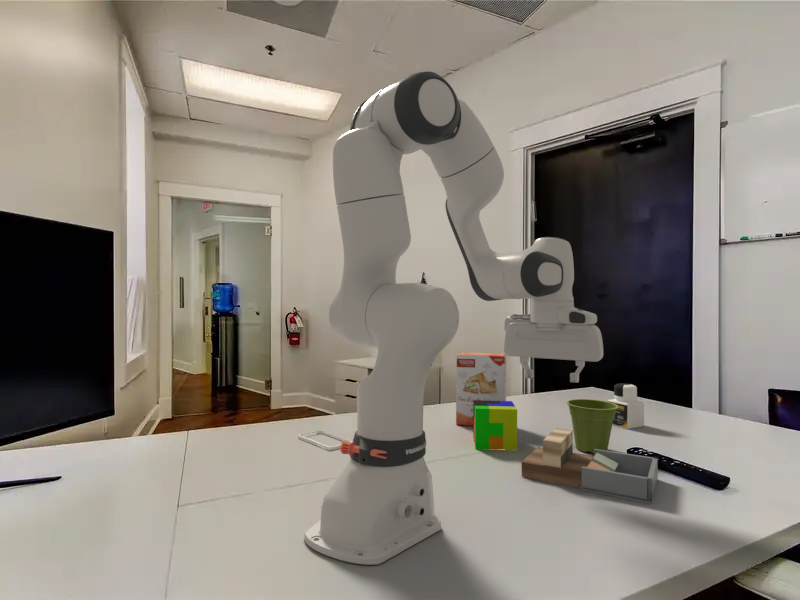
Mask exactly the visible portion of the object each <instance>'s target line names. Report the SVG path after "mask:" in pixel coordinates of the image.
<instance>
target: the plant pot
mask: <svg viewBox="0 0 800 600" xmlns="http://www.w3.org/2000/svg"><path fill="white" fill-rule="evenodd" d="M566 404H567V405H568V409H569V414H570V416H571V417H570V418H571V424H572V429H573V438H574V444H575V449H577V450H579V451H580V452H583V453H584V452H585V453H588V452H590V453H591V454H594V449H600V450H607V451H608V450H609V443H610V439H611V433H612V430H613V429H612V427H613V425H612V423H613V419H614V417H615V413H616V409H618V408H619V406H618V405H616V404H614V403H611V402H607V401H605V400H600V399H592V398H591V399H590V398H587V399H586V398H577V399H576V398H574V399H573V398H572V399H568V400H567V401H566Z"/></svg>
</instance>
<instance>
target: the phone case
mask: <svg viewBox="0 0 800 600" xmlns="http://www.w3.org/2000/svg"><path fill="white" fill-rule="evenodd" d="M313 433H316V435H324V436H327V437H329V438H333V439H335V440H337V441H341V442H343V441H348V442H350V443H351V442H353V440H351V439H347V438H345V437H341V436H339V435H335V434H334V433H330V432H327V431H325V430H319V429H318V430H315V431H314V430H313V431H310V432H305V433H300V434H298V435H297V438H298V439H299V440H301V441H304V442H306V443H309V444H311V445H314V446H317V445H318V446H321V447H323V448H325V450H326V451H336V450H338V449H339V450H340V448H341V447H340V445H342V444H341V443H340V444H337V445H332V446H329V445H327V444H325V443H324V444H323V443H321V442H318V441H316V440H314V439H311V438H308V437H305V435H309V434H313Z"/></svg>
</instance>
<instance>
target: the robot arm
mask: <svg viewBox="0 0 800 600" xmlns="http://www.w3.org/2000/svg"><path fill="white" fill-rule="evenodd" d="M495 147H496V146H495V145H494V143H493V142H492V140H491V138H490V136H489V135H488V133H487V131H486V129H485V127H484V126H483V124H482V123H481V121H480V120H479V118H478V116H476V114H475V113H474V112H473V109H471V107H469V105H468V104H467V103H466V102H465V101H463V100H462V99H459V98H458V96H457V93H456V92H455V90H454V89H453V87H452V86H451V84H450V83H449V82H448V81H447V80H446V79H445V78H444V77H443V76H441V75H440V74H438V73H436V72H433V71H419V72H414V73H412V74H409V75H407V76H405V77H404V78H402V80H399V81H397V82H394V83H393V84H390V85H387V86H384V87H383V88H381V89H380V90H379V91H377V92H376V93H375V94H373V95H372V96H371V97H370V98H367V99H366V100H364V101H363V102H362V103H361V104H360V105H359V106H358V107H357V109H356V110H355V112H354V114H353V115H352V119H351V122H350V127H349V130H348V131H347V132H344V134H342V135H341V136H340V137H338V138H337V140H336V141H335V143H334V145H333V148H332V175H333V189H334V190H333V191H334V196H335V202H336V209H337V214H338V220H339V225H340V232H341V240H342V246H343V269H342V277H341V284H340V286H339V290H338V292H337V293H336V295H335V296H334V297H333V299H332V301H331V304H330V306H329V312H328V321H329V323H330V327H331V329H332V331H333V333H334V334H335V335H336V336H337V337H338V338H340V339H342V340H343V341H346V342H348V343H351V344H353V345H355V346H357V347H365V348H376V349H377V357H376V359H375V364H374V366H373V369H372V370H371V372H370V373H369V374H368V375H367V376H365V377H364V378H363V379H361V381H360V382H359V384H358V386H357V391H356V393H357V394H356V397H357V399H356V406H357V407H356V408H357V409H356V415H357V416H356V431H355V432H354V434H353V435H354V436H353V439H352V442H351V443H350V442H348V441H341V443H340V444H342V445H340V444H339V445H340V447H341V448H339V452H341V454H342V455H349V457H350V458H349V461H348V462H347V463H346V465H345V466H344V468H343V469H342V470H341V472H340V473H339V475H338V477H337V478H336V479H335V481H334V482H333V484H332V485H331V486H330V488H329V489H328V491H327V492H326V494H325V495H324V497H323V499H322V504H321V511H320V519H319V520H318V521H317V522H315V524H314V525H312V526H311V527H310V528H309V529H307V530H306V531H305V533H304V537H303V538H304V539H303V540H304V541H305V544H307V546H308V547H310V548H311V549H313V550H314V551H316V552H318V553H320V554H322V555H325V556H327V557H330V558H333V559H335V560H336V559H337V560H339V561H343V562H347V563H351V564H358V565H380V564H382V563H384V562H386V561H387V560H390V559H391V558H393V557H395V556H396V555H398V554H400V553H402V552H403V551H406V550H407V549H409V548H411V547H413V546H414V545H415V544H418V543H420V542H421V541H423V540H425V539H426V538H428V537H430V536H432V535H434V534H436V533H437V532H439V531H440V530H442V522H441V520H440V519H439V517H437V516H436V513H435V511H436V510H435V502H434V500H435V499H434V487H433V476H432V473H431V471H430V470H429V468H428V466H427V464H426V461H425V455H426V454H427V453H426V452H427V449H426V446H427V439H426V432H425V430H424V401H425V400H424V398H425V387H426V381H427V378H428V375H429V372H430V370H431V367H432V365H433V363H434V361H435V360H436V358H437V356H438V355H439V354H440V352H441V351H443V350H444V349H445V348H446V347H447V346H448V345H449V344H450V343H451V342H452V341H453V339H455V336H456V334H457V332H458V328H459V325H460V312H459V311H460V310H459V308H458V304H457V302H456V300H455V297H454V296H453V295H452V294H451V292H449V291H448V289H445V288H443V287H438V286H436V285H431V284H426V283H422V282H407V283H405V282H404V283H397V280H396V276H397V266H398V263H399V260H400V258H401V257H402V256H403V254H404V253H406V252H407V250H408V249H409V247H410V244H411V240H412V236H411V235H412V234H411V228H410V224H409V222H410V221H409V216H408V211H407V209H408V208H407V205H406V204H407V203H406V196H405V192H404V185H403V181H402V177H401V161H402V158H403V156H404V155H410V154H414V153H415V152H419V151H420V150H421V151H423V152H424V153H425V154H426V156H428V157H429V158H430V161H431V162H432V163H431V164H432V165H433V167H434V169H435V171H436V173H437V175H438V177H439V179H440V180H441V182H442V185H443V187H444V190H445V193H446V200H445V212H446V216H447V219H448V222H449V225H450V228H451V229H452V232H453V235H454V237H455V240H456V242H457V246H458V247H459V250H460V253H461V255H462V258H463V260H464V263H465V266H466V269H467V272H468V277H469V283H470V286H471V288H472V290H473V291H474V293H475V295H476V296H477V297H478V298H480V299H481V300H483V301H487V302H495V301H500V300H501V301H502V300H523V299H524V300H525V299H526V300H528V299H530V303H529V304H530V305H529V306H530V307H529V308H530V314H527V313H526V314H525V313H524V314H513V313H512V314H511V315H510V316H507V317H506V318H505V319H504V331H505V334H504V339H503V340H504V342H503V352H504V354H506V357H507V356H508V357H518V358H519V363H520V364H521V367H522V368H523V370H524V378H525V379H534V377H535V374H534V373H535V371H534V370H535V369H531V368H530V365H529V364H528V362H529V361H530V358H532V359H533V358H535V359H549V360H550V359H551V360H563V361H564V360H566V361H575V366H576V367H577V368H576V370H575V372H570V373H569V382H570V383H579V382H580V374H581V372H582V370H583V369H584V367H585V366H586V365H585V364H586V362H594V363H595V362H599V361H601V360H602V359H603V358H604V343H603V342H604V341H603V336H602V332H601V330H600V328H599V327H598V326H597V325H595V324H596V323H597V322H598V316H597V314H596V313H594V312H591V311H586V310H584V309H582V308H577V307H575V303H574V301H575V300H574V296H573V285H574V281H575V268H574V256H573V255H574V254H573V250H572V246H571V244H570V242H569V241H567V240H566V239H564V238H561V237H554V236H543V237H539V238H536V239H535V240H534V242H533V244H532V245H531V246H530V247H527V248H526V249H523V250H521V251H515V252H508V253H498V252H495V251H494V250H492V249H491V248H490V245H489V242H488V239H487V237H486V234H485V232H484V229H483V226H482V224H481V220H480V213H481V211H482V210H483V209H484V208H485V207H486V206H488V205H489V204H490V203H491V202H492V201H493V200H494V199H495V197H496V196H497V195H498V193H499V192H500V190H501V189H502V186H503V182H504V178H505V171H504V167H503V163H502V160H501V158H500V155H499V154H498V152H497V150H496V148H495Z"/></svg>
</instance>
